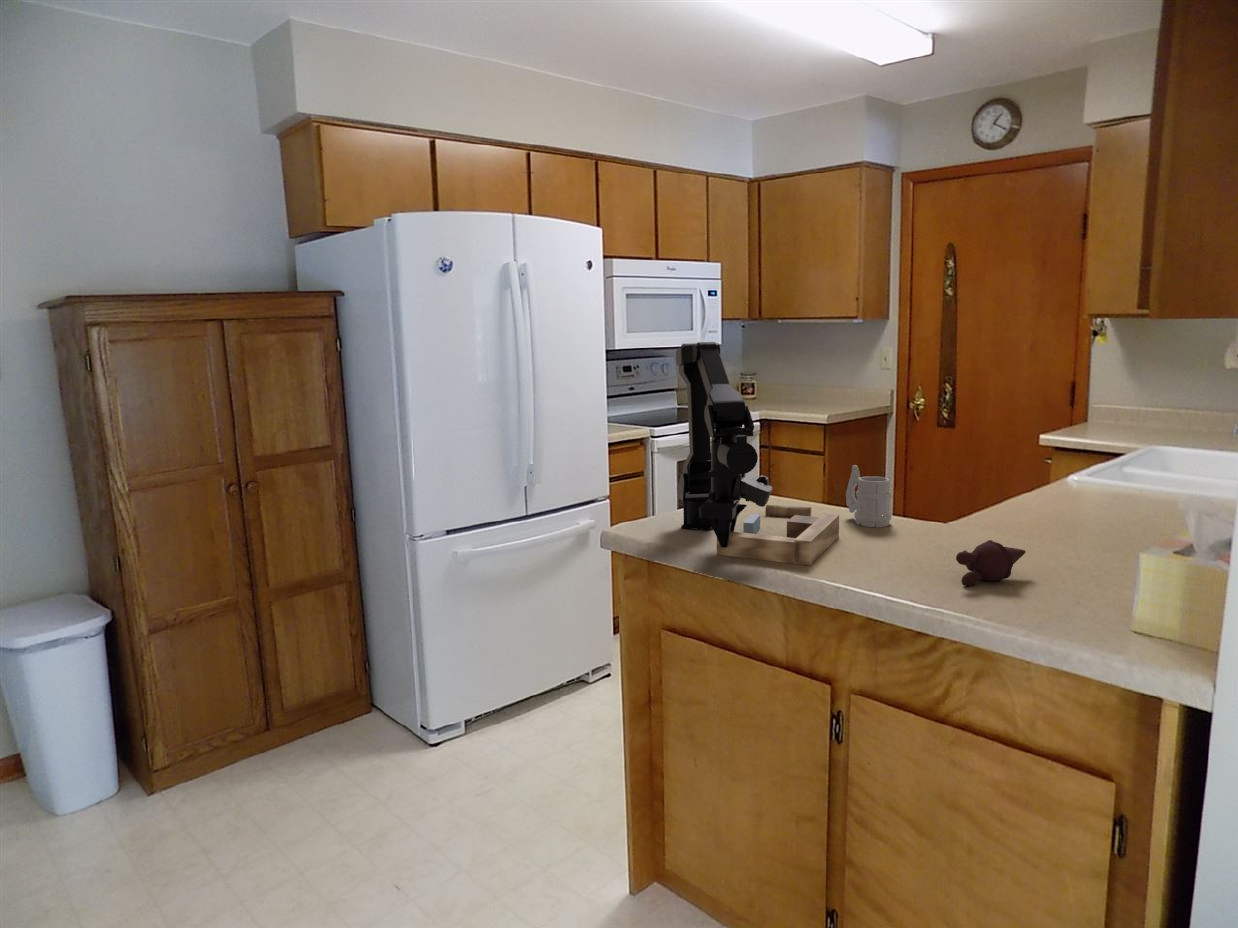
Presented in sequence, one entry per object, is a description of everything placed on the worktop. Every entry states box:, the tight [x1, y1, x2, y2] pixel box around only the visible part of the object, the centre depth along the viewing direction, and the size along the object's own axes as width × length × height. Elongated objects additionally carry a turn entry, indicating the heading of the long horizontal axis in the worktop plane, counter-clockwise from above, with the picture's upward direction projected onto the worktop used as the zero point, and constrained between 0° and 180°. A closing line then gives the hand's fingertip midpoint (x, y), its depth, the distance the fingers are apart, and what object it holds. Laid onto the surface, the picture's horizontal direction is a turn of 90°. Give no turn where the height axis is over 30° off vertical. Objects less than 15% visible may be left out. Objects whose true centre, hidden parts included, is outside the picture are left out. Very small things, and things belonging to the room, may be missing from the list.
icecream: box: [955, 539, 1026, 587], centre depth 136 cm, size 7×7×15 cm
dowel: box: [764, 504, 812, 518], centre depth 185 cm, size 10×2×2 cm
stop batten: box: [742, 513, 761, 534], centre depth 171 cm, size 2×8×3 cm, turn 160°
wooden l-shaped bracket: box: [716, 513, 840, 566], centre depth 160 cm, size 18×22×4 cm
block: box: [786, 515, 821, 538], centre depth 166 cm, size 6×6×4 cm
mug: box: [845, 464, 892, 528], centre depth 177 cm, size 8×12×12 cm, turn 27°
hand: (726, 544), depth 155 cm, fingers closed on wooden l-shaped bracket, 3 cm apart
